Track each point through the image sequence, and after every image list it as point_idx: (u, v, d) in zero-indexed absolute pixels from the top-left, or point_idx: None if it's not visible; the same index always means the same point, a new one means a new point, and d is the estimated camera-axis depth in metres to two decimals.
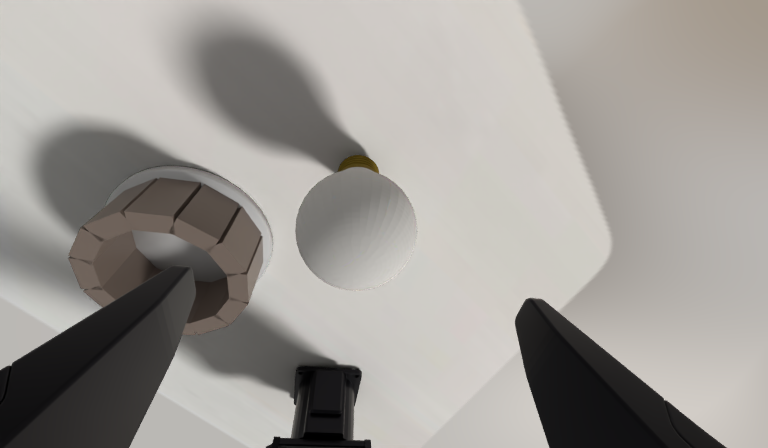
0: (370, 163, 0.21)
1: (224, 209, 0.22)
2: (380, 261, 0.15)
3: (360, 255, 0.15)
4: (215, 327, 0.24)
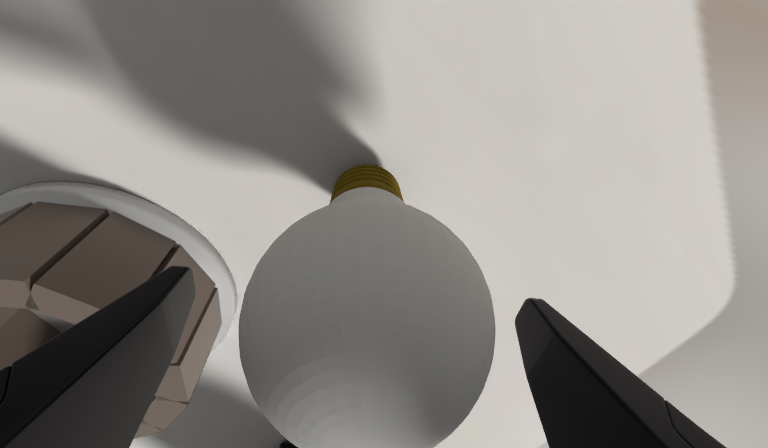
0: (388, 179, 0.12)
1: (144, 254, 0.13)
2: (429, 430, 0.06)
3: (382, 427, 0.06)
4: (140, 433, 0.15)
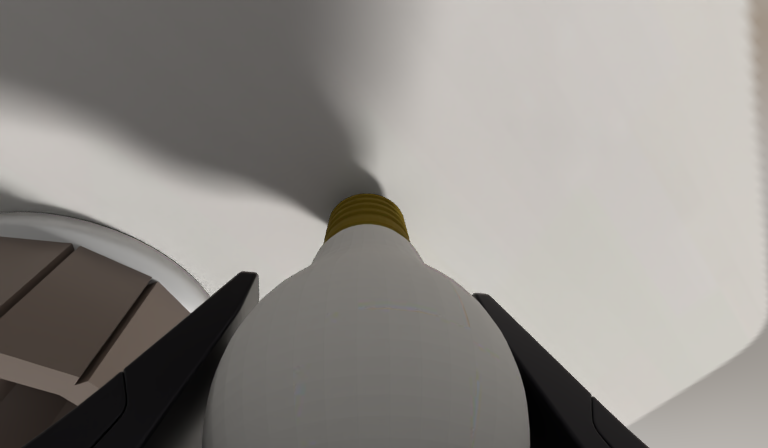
0: (391, 212, 0.11)
1: (113, 296, 0.12)
2: None
3: None
4: None
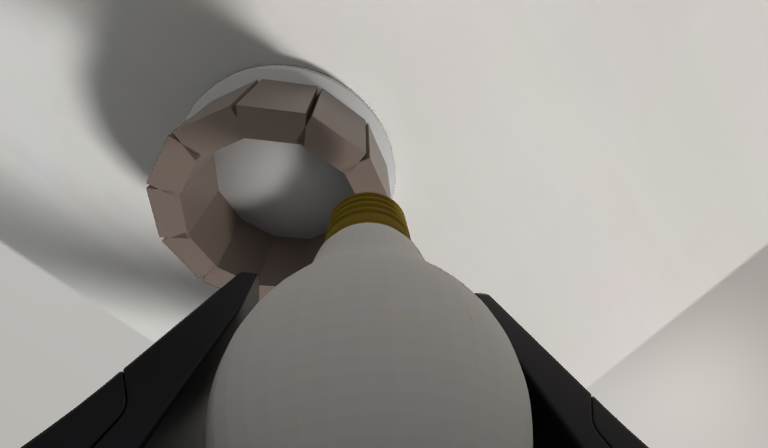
0: (392, 210, 0.11)
1: (354, 121, 0.15)
2: None
3: None
4: None
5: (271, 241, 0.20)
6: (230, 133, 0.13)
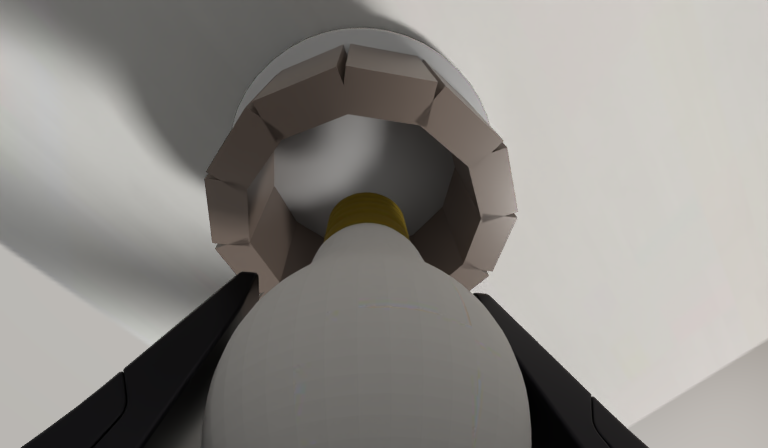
0: (391, 210, 0.11)
1: (466, 101, 0.12)
2: None
3: None
4: None
5: None
6: (330, 106, 0.09)
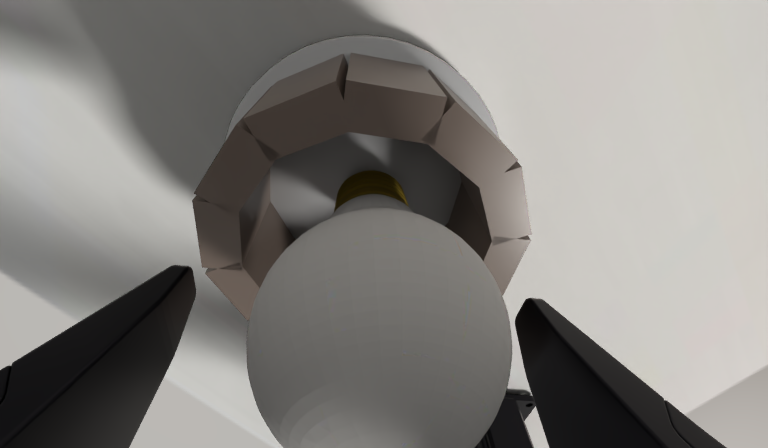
0: (393, 185, 0.12)
1: (475, 115, 0.11)
2: None
3: None
4: None
5: None
6: (329, 124, 0.09)
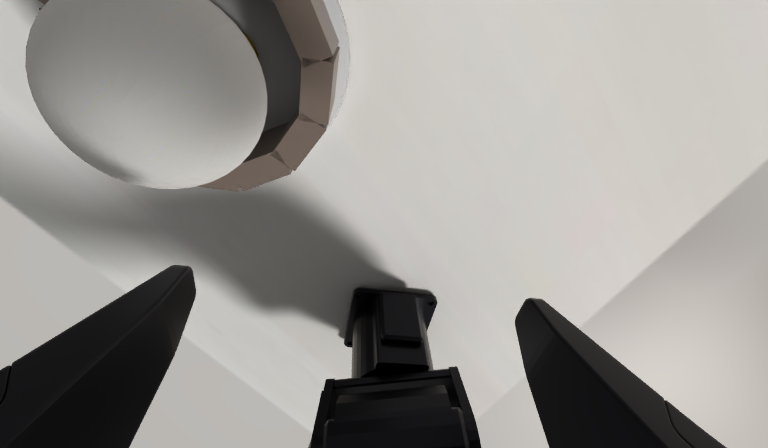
0: None
1: None
2: (152, 109, 0.08)
3: (102, 90, 0.08)
4: (270, 176, 0.16)
5: None
6: None
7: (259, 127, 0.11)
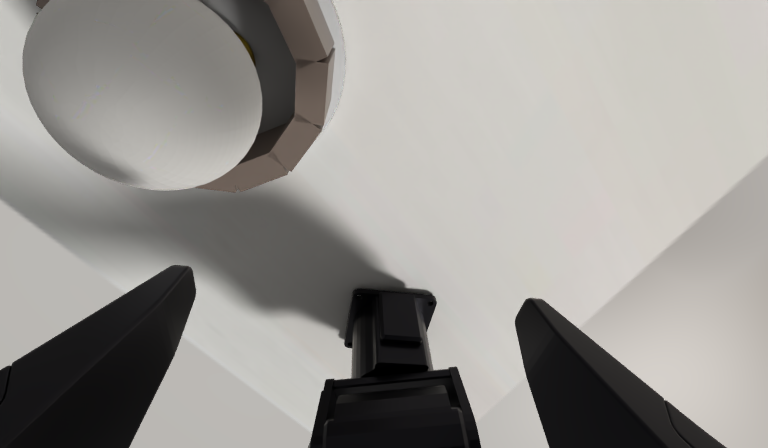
0: None
1: None
2: (146, 111, 0.08)
3: (97, 93, 0.08)
4: (267, 177, 0.16)
5: None
6: None
7: (254, 128, 0.11)
